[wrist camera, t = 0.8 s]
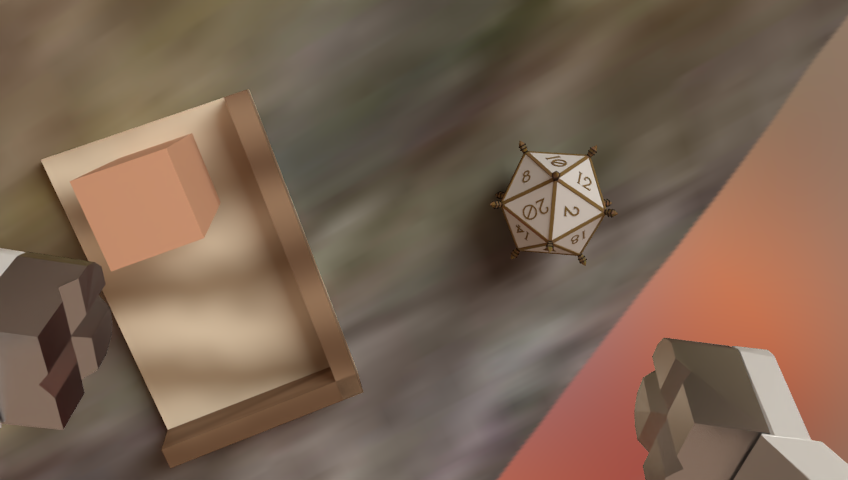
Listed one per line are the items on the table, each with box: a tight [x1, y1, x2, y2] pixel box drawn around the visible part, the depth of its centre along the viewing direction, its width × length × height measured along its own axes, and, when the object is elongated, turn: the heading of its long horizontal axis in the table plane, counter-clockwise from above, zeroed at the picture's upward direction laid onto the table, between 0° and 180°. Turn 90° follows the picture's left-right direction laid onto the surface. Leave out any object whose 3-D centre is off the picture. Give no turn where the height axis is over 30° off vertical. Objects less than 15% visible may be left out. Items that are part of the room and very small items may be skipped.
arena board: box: [41, 89, 363, 468], centre depth 50 cm, size 22×14×4 cm, turn 19°
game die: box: [489, 141, 618, 266], centre depth 52 cm, size 9×8×10 cm
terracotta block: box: [69, 133, 221, 272], centre depth 44 cm, size 5×5×12 cm
